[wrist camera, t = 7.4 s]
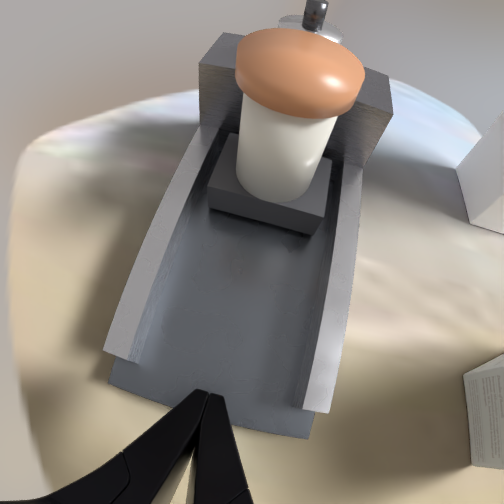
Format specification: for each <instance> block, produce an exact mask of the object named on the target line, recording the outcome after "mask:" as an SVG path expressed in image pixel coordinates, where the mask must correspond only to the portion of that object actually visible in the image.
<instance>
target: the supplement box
mask: <svg viewBox="0 0 504 504" xmlns="http://www.w3.org/2000/svg"><path fill="white" fill-rule="evenodd" d="M463 379H464V386H465V394H466V402H467V411H468V420H469V433H470V446H471V462H472V465H473V466H477V467H485V468H494V469H504V354H502V355H500V356H498V357H496V358H495V359H493V360H491V361H489V362H487V363H485V364H483V365H481V366H479V367H477V368H475V369H473V370H471V371H469V372H467V373H465V374H464V375H463Z"/></svg>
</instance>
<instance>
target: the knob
mask: <svg viewBox="0 0 504 504" xmlns="http://www.w3.org/2000/svg"><path fill="white" fill-rule="evenodd" d="M235 79H236V82H237V84H238V86H239V88H240V89H241V90H242V91H243V102H242V111H241V121H240V131H239V135H238V134H233V133H230V134H229V136H228V138H227V141H226V143H225V145H224V147H223V150H222V152H221V154H220V157H219V159H218V161H217V164H216V166H215V168H214V171H213V173H212V175H211V178H210V180H209V183H208V185H207V197H208V207H209V208H213V209H217V210H221V211H225V212H229V213H232V214H236V215H240V216H244V217H247V218H251V219H255V220H259V221H262V222H266V223H270V224H273V225H277V226H280V227H284V228H288V229H291V230H295V231H298V232H302V233H306V234H309V235H313V236H314V234H315V232H316V230H317V229H318V227H319V225H320V223H321V222H322V220H323V218H324V214H325V207H326V201H327V194H328V187H329V180H330V172H331V165H332V160H330V159H327V158H324V157H321V156H322V154H323V151H324V149H325V147H326V144H327V142H328V139H329V137H330V134H331V132H332V129H333V127H334V124H335V122H336V119H337V117H338V116H339V115H342V114H344V113H345V112H347V111H348V110H350V109H351V107H352V106H353V105H354V102H355V100H356V98H357V95H358V93H359V91H360V88H361V86H362V83H363V81H364V79H365V70H364V68H363V66H362V64H361V62H360V61H359V60H358V58H357V57H356V56H355V55H354V54H353V53H351V52H350V51H349V50H348V49H346V48H345V47H343V46H342V45H340V44H338V43H336V42H334V41H332V40H330V39H328V38H326V37H323V36H321V35H318V34H314V33H311V32H307V31H303V30H297V29H288V28H272V29H264V30H259V31H256V32H253V33H250V34H248V35H246V36H245V37H244V38H242V39H241V41H240V42H239V44H238V47H237V56H236V67H235Z"/></svg>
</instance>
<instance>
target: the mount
mask: <svg viewBox="0 0 504 504" xmlns="http://www.w3.org/2000/svg"><path fill="white" fill-rule="evenodd" d="M244 37H245V36H243V35H237V34H231V33H223V34H222V35H221V36H220V37H219V38H218V40H217V41H216V42H215V43H214V44H213V46H212V47H211V48H210V49H209V51H208V52H207V53H206V54H205V56H204V57H203V58H202V59H201V61H200V62H199V111H200V125H199V127H198V129H197V131H196V133H195V134H194V136H193V138H192V140H191V142H190V144H189V146H188V148H187V150H186V152H185V154H184V156H183V157H182V159H181V161H180V163H179V165H178V167H177V169H176V171H175V173H174V175H173V178H172V180H171V182H170V184H169V186H168V188H167V190H166V192H165V194H164V196H163V198H162V201H161V203H160V205H159V207H158V209H157V211H156V214H155V216H154V218H153V220H152V223H151V225H150V227H149V229H148V232H147V234H146V236H145V239H144V241H143V243H142V246H141V248H140V251H139V253H138V255H137V258H136V260H135V263H134V265H133V268H132V270H131V273H130V275H129V278H128V280H127V283H126V285H125V288H124V291H123V293H122V296H121V299H120V301H119V304H118V307H117V310H116V312H115V315H114V318H113V321H112V324H111V327H110V329H109V332H108V335H107V338H106V341H105V344H104V347H103V351H105V352H108V353H110V354H113V355H115V356H116V358H115V361H114V364H113V368H112V371H111V374H110V378H109V381H108V384H111V385H113V386H116V387H118V388H120V389H123V390H125V391H128V392H131V393H133V394H136V395H138V396H141V397H144V398H147V399H149V400H152V401H155V402H158V403H161V404H164V405H167V406H170V407H173V408H174V407H175V406H176V405H177V404H178V403H180V402H181V401H182V400H183V399H184V398H185V397H186V396H188V395H189V394H190V393H191V392H192V391H193V390H194V389H197V388H198V389H201V390H205V391H208V392H209V394H210V393H215V394H219V395H222V396H224V398H225V402H226V406H227V410H228V414H229V418H230V422H231V424H232V425H236V426H241V427H245V428H249V429H254V430H258V431H263V432H268V433H273V434H278V435H284V436H289V437H295V438H301V439H308V438H309V434H310V430H311V427H312V423H313V419H314V415H315V411H316V412H322V413H328V414H329V410H330V406H331V402H332V397H333V393H334V388H335V383H336V379H337V374H338V369H339V364H340V358H341V353H342V348H343V342H344V336H345V331H346V325H347V318H348V312H349V305H350V298H351V291H352V284H353V276H354V268H355V260H356V251H357V241H358V231H359V219H360V207H361V192H362V175H363V167H364V165H365V164H366V162H367V160H368V158H369V157H370V155H371V153H372V151H373V150H374V148H375V146H376V145H377V143H378V141H379V139H380V137H381V136H382V134H383V132H384V130H385V129H386V127H387V125H388V123H389V121H390V120H391V118H392V116H393V107H392V99H391V91H390V84H389V77H388V76H387V75H384V74H382V73H379V72H377V71H374V70H371V69H369V68H366V67H363V68H364V70H365V79H364V81H363V83H362V86H361V88H360V91H359V93H358V95H357V98H356V100H355V102H354V105H353V106H352V107H351V109H350V110H348V111H347V112H345V113H344V114H342V115H339V116H338V117H337V119H336V122H335V124H334V127H333V129H332V132H331V134H330V137H329V139H328V142H327V144H326V147H325V149H324V151H323V154H322V156H321V157H324V158H327V159H330V160H332V165H331V172H330V180H329V187H328V194H327V201H326V207H325V214H324V218H323V220H322V222H321V223H320V225H319V227H318V229H317V230H316V232H315V234H314V236H313V235H309V234H306V233H302V232H298V231H295V230H291V229H288V228H284V227H280V226H277V225H273V224H270V223H266V222H262V221H259V220H255V219H251V218H247V217H244V216H240V215H236V214H232V213H229V212H225V211H221V210H217V209H213V208H209V207H208V197H207V185H208V183H209V180H210V178H211V175H212V173H213V171H214V168H215V166H216V164H217V161H218V159H219V157H220V154H221V152H222V150H223V147H224V145H225V143H226V141H227V138H228V136H229V134H230V133H233V134H238V135H239V131H240V121H241V111H242V102H243V91H242V90H241V89H240V88H239V86H238V84H237V82H236V79H235V67H236V56H237V47H238V44H239V42H240V41H241V39H242V38H244Z"/></svg>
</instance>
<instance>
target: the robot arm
mask: <svg viewBox="0 0 504 504" xmlns="http://www.w3.org/2000/svg"><path fill="white" fill-rule="evenodd" d="M192 454H193V455H192ZM191 456H192V461H191V467H190V475H189V482H188V490H187V498H186V504H254V503H253V500H252V497H251V493H250V490H249V489H248V484H247V480H246V477H245V473H244V470H243V466H242V463H241V459H240V456H239V452H238V449H237V445H236V441H235V437H234V434H233V430H232V426H231V422H230V418H229V414H228V410H227V406H226V402H225V398H224V396H222V395H219V394H215V393H210V394H209V392H208V391H205V390H201V389H198V388H197V389H194V390H193V391H192V392H191V393H190V394H189V395H188V396H186V397H185V398H184V399H183V400H182V401H181V402H180V403H178V404H177V405H176V406H175V407H174V408H173V409H171V410H170V411H169V412H168V413H167V414H166V415H164V416H163V417H162V418H161V419H160V420H159V421H157V422H156V423H155V424H154V425H153V426H151V427H150V428H149V429H148V430H147V431H145V432H144V433H143V434H142V435H141V436H139V437H138V438H137V439H136V440H134V441H133V442H132V443H131V444H129V445H128V446H127V447H126V448H125V449H123V450H122V452H119V453H118V454H117V455H116V456H114V457H113V458H112V459H110V460H109V461H108V462H106V463H105V464H103V465H102V466H101V467H99V468H98V469H96V470H94V471H93V472H91V473H89V474H88V475H86V476H84V477H82V478H80V479H79V480H77V481H75V482H73V483H71V484H69V485H67V486H65V487H63V488H61V489H59V490H57V491H55V492H53V493H51V494H49V495H46V496H44V497H41V498H37V499H32V500H20V501H0V504H170V502H171V500H172V498H173V496H174V493H175V491H176V489H177V487H178V485H179V483H180V481H181V479H182V476H183V474H184V472H185V470H186V468H187V466H188V464H189V461H190V459H191Z"/></svg>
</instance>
